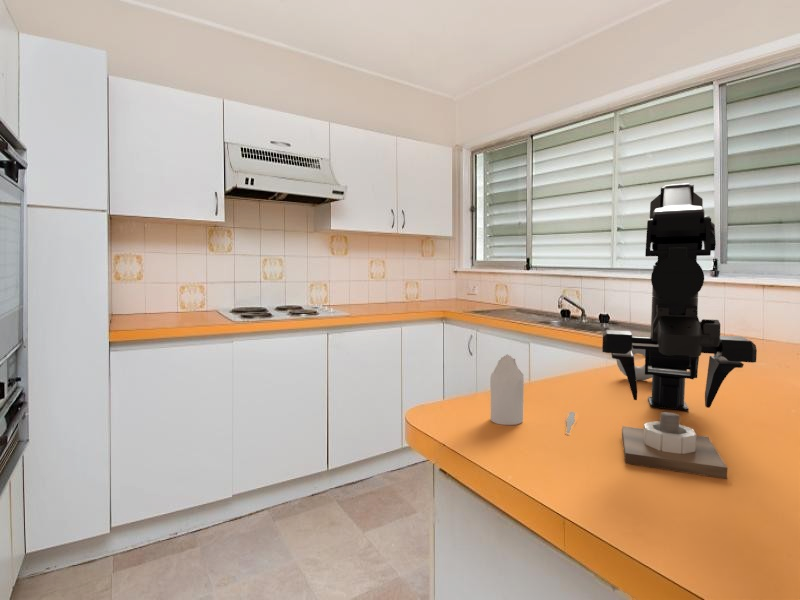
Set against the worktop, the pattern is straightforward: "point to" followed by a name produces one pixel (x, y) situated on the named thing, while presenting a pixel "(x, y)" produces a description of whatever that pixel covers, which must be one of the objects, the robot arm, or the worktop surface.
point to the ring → (670, 438)
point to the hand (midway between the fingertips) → (670, 403)
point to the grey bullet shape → (507, 392)
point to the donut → (638, 370)
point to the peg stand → (693, 462)
